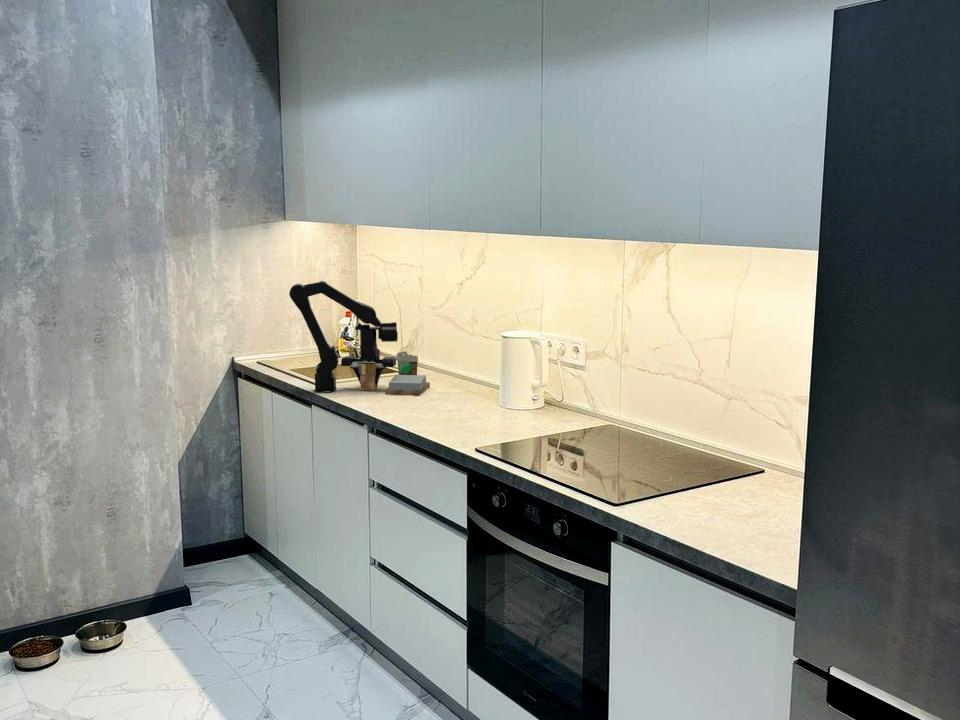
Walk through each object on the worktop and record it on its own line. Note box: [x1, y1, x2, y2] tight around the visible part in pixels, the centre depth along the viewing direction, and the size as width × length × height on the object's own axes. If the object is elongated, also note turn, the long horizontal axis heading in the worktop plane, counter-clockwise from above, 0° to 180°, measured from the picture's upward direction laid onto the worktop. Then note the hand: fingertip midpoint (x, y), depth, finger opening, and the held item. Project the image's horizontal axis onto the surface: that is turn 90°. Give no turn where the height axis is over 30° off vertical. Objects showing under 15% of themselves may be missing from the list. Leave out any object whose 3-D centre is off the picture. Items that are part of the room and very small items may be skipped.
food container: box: [395, 351, 419, 375], centre depth 365 cm, size 12×6×10 cm, turn 25°
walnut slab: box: [384, 381, 431, 397], centre depth 347 cm, size 12×16×2 cm
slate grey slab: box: [388, 374, 427, 390], centre depth 346 cm, size 11×15×2 cm
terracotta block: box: [359, 373, 379, 391], centre depth 348 cm, size 5×5×5 cm
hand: (369, 385), depth 348 cm, fingers closed on terracotta block, 5 cm apart
